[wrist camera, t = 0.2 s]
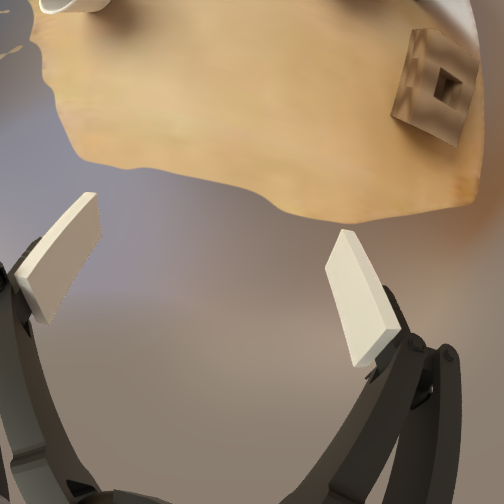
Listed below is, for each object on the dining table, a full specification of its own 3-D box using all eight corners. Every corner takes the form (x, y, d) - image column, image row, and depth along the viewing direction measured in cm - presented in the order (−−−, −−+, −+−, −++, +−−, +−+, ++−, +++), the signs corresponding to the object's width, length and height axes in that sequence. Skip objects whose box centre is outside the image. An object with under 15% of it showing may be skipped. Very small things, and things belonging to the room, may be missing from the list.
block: (412, 29, 25) (433, 28, 20) (456, 58, 26) (479, 62, 21) (390, 115, 34) (409, 123, 29) (435, 136, 35) (455, 147, 31)
